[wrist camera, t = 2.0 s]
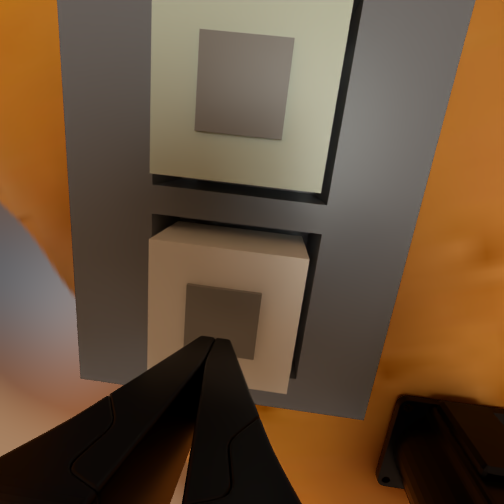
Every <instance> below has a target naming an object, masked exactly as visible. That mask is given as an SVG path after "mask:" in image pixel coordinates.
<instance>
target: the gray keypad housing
mask: <svg viewBox="0 0 504 504" xmlns="http://www.w3.org/2000/svg"><path fill="white" fill-rule="evenodd" d="M474 3H475V0H354V2H353V7H352V13H351V19H350V25H349V31H348V37H347V43H346V48H345V54H344V60H343V66H342V72H341V78H340V84H339V90H338V95H337V101H336V107H335V113H334V119H333V125H332V131H331V136H330V142H329V148H328V154H327V160H326V166H325V172H324V177H323V183H322V189H321V193H314V192H306V191H297V190H288V189H280V188H271V187H263V186H254V185H246V184H237V183H229V182H220V181H212V180H203V179H195V178H186V177H177V176H169V175H160V174H152V173H150V99H151V17H152V0H57V6H58V22H59V38H60V54H61V71H62V87H63V103H64V119H65V135H66V151H67V168H68V184H69V200H70V216H71V232H72V248H73V264H74V281H75V297H76V312H77V328H78V345H79V361H80V376H81V377H80V378H81V379H88V380H94V381H101V382H108V383H115V384H122V385H125V384H126V383H128V382H130V381H131V380H133V379H134V378H136V377H137V376H139V375H140V374H142V373H144V372H145V371H147V345H148V263H149V239H150V238H151V237H153V236H155V235H156V234H158V233H160V232H161V231H163V230H164V229H166V228H168V227H169V226H171V225H173V224H174V223H176V222H177V221H182V222H190V223H198V224H206V225H214V226H222V227H230V228H239V229H247V230H255V231H263V232H271V233H279V234H287V235H295V236H302V238H303V241H304V244H305V247H306V250H307V253H308V256H309V259H310V260H309V265H308V271H307V277H306V283H305V289H304V295H303V301H302V306H301V312H300V318H299V324H298V330H297V336H296V342H295V347H294V353H293V359H292V365H291V371H290V377H289V383H288V389H287V394H282V393H275V392H268V391H261V390H254V389H249V391H250V393H251V396H252V398H253V401H254V404H257V405H264V406H271V407H277V408H284V409H291V410H298V411H305V412H311V413H318V414H325V415H332V416H338V417H345V418H352V419H359V420H364V417H365V413H366V410H367V406H368V402H369V398H370V395H371V391H372V387H373V383H374V379H375V376H376V372H377V368H378V364H379V361H380V357H381V353H382V349H383V346H384V342H385V338H386V334H387V331H388V327H389V323H390V319H391V316H392V312H393V308H394V304H395V300H396V297H397V293H398V289H399V285H400V282H401V278H402V274H403V270H404V267H405V263H406V259H407V255H408V252H409V248H410V244H411V240H412V237H413V233H414V229H415V225H416V222H417V218H418V214H419V210H420V206H421V203H422V199H423V195H424V191H425V188H426V184H427V180H428V176H429V173H430V169H431V165H432V161H433V158H434V154H435V150H436V146H437V143H438V139H439V135H440V131H441V127H442V124H443V120H444V116H445V112H446V109H447V105H448V101H449V97H450V94H451V90H452V86H453V82H454V79H455V75H456V71H457V67H458V64H459V60H460V56H461V52H462V49H463V45H464V41H465V37H466V33H467V30H468V26H469V22H470V18H471V15H472V11H473V7H474Z"/></svg>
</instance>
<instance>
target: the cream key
mask: <svg viewBox="0 0 504 504" xmlns="http://www.w3.org/2000/svg"><path fill="white" fill-rule="evenodd" d="M309 260H310V259H309V256H308V253H307V250H306V247H305V244H304V241H303V238H302V236H295V235H287V234H279V233H271V232H263V231H255V230H247V229H239V228H230V227H222V226H214V225H206V224H198V223H190V222H182V221H177V222H176V223H174V224H173V225H171V226H169V227H168V228H166V229H164V230H163V231H161V232H160V233H158V234H156V235H155V236H153V237H151V238H150V239H149V263H148V345H147V370H148V369H150V368H151V367H153V366H154V365H156V364H158V363H159V362H161V361H162V360H164V359H165V358H167V357H168V356H170V355H172V354H173V353H175V352H176V351H178V350H179V349H181V348H182V347H184V346H185V345H187V344H189V343H190V342H192V341H193V340H195V339H196V338H198V337H199V336H209V337H214V338H215V339H216V338H224V339H229V340H230V341H231V343H232V346H233V348H234V351H235V353H236V356H237V359H238V361H239V364H240V367H241V369H242V372H243V375H244V377H245V380H246V383H247V385H248V388H249V389H254V390H261V391H268V392H275V393H282V394H287V389H288V383H289V377H290V371H291V365H292V359H293V353H294V347H295V342H296V336H297V330H298V324H299V318H300V312H301V306H302V301H303V295H304V289H305V283H306V277H307V271H308V265H309Z"/></svg>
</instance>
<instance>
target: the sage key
mask: <svg viewBox="0 0 504 504" xmlns="http://www.w3.org/2000/svg"><path fill="white" fill-rule="evenodd" d="M353 2H354V0H152V17H151V99H150V173H152V174H160V175H169V176H177V177H186V178H195V179H203V180H212V181H220V182H229V183H237V184H246V185H254V186H263V187H271V188H280V189H288V190H297V191H306V192H314V193H321V189H322V183H323V177H324V172H325V166H326V160H327V154H328V148H329V142H330V136H331V131H332V125H333V119H334V113H335V107H336V101H337V95H338V90H339V84H340V78H341V72H342V66H343V60H344V54H345V48H346V43H347V37H348V31H349V25H350V19H351V13H352V7H353Z"/></svg>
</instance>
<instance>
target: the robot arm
mask: <svg viewBox="0 0 504 504" xmlns="http://www.w3.org/2000/svg"><path fill="white" fill-rule="evenodd" d="M407 404H409V405H408V406H405V405H407ZM190 448H191V451H190ZM189 451H190V457H189V463H188V469H187V476H186V482H185V488H184V495H183V500H182V504H302V503H301V502H300V500H299V498H298V496H297V494H296V492H295V491H294V489H293V487H292V485H291V483H290V482H289V480H288V478H287V476H286V474H285V472H284V471H283V469H282V467H281V465H280V463H279V461H278V459H277V457H276V455H275V453H274V451H273V449H272V447H271V444H270V442H269V439H268V437H267V435H266V432H265V430H264V427H263V425H262V422H261V420H260V417H259V414H258V412H257V409H256V406H255V404H254V401H253V398H252V396H251V393H250V391H249V388H248V385H247V383H246V380H245V377H244V375H243V372H242V369H241V367H240V364H239V361H238V359H237V356H236V353H235V351H234V348H233V346H232V343H231V341H230V340H229V339H224V338H216V339H215V338H214V337H209V336H199V337H198V338H196V339H195V340H193V341H192V342H190V343H189V344H187V345H185V346H184V347H182V348H181V349H179V350H178V351H176V352H175V353H173V354H172V355H170V356H168V357H167V358H165V359H164V360H162V361H161V362H159V363H158V364H156V365H154V366H153V367H151V368H150V369H148V370H147V371H145V372H144V373H142V374H140V375H139V376H137V377H136V378H134V379H133V380H131V381H130V382H128V383H126V384H125V385H123V386H122V387H121V388H119V389H117V390H116V391H114V392H113V393H111V394H110V396H106V397H105V398H103V399H102V400H100V401H98V402H97V403H95V404H94V405H92V406H90V407H89V408H87V409H85V410H84V411H82V412H81V413H79V414H77V415H76V416H74V417H72V418H71V419H69V420H67V421H65V422H64V423H62V424H60V425H58V426H56V427H55V428H53V429H51V430H49V431H48V432H46V433H44V434H42V435H40V436H38V437H36V438H34V439H33V440H31V441H29V442H27V443H25V444H23V445H21V446H19V447H18V448H16V449H14V450H12V451H10V452H8V453H6V454H5V455H3V456H1V457H0V504H170V502H171V499H172V497H173V494H174V491H175V488H176V485H177V483H178V480H179V478H180V474H181V472H182V469H183V467H184V464H185V461H186V459H187V456H188V453H189ZM376 477H377V481H378V483H379V484H380V485H383V486H388V487H394V488H401V489H404V490H405V492H406V495H407V497H408V500H409V502H410V504H504V409H498V408H491V407H485V406H478V405H471V404H464V403H457V402H450V401H442V400H435V399H428V398H421V397H415V396H402V397H400V398H399V399H398V400H397V403H396V406H395V409H394V413H393V416H392V420H391V423H390V426H389V430H388V433H387V436H386V440H385V443H384V446H383V450H382V453H381V456H380V460H379V463H378V466H377V470H376Z"/></svg>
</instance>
